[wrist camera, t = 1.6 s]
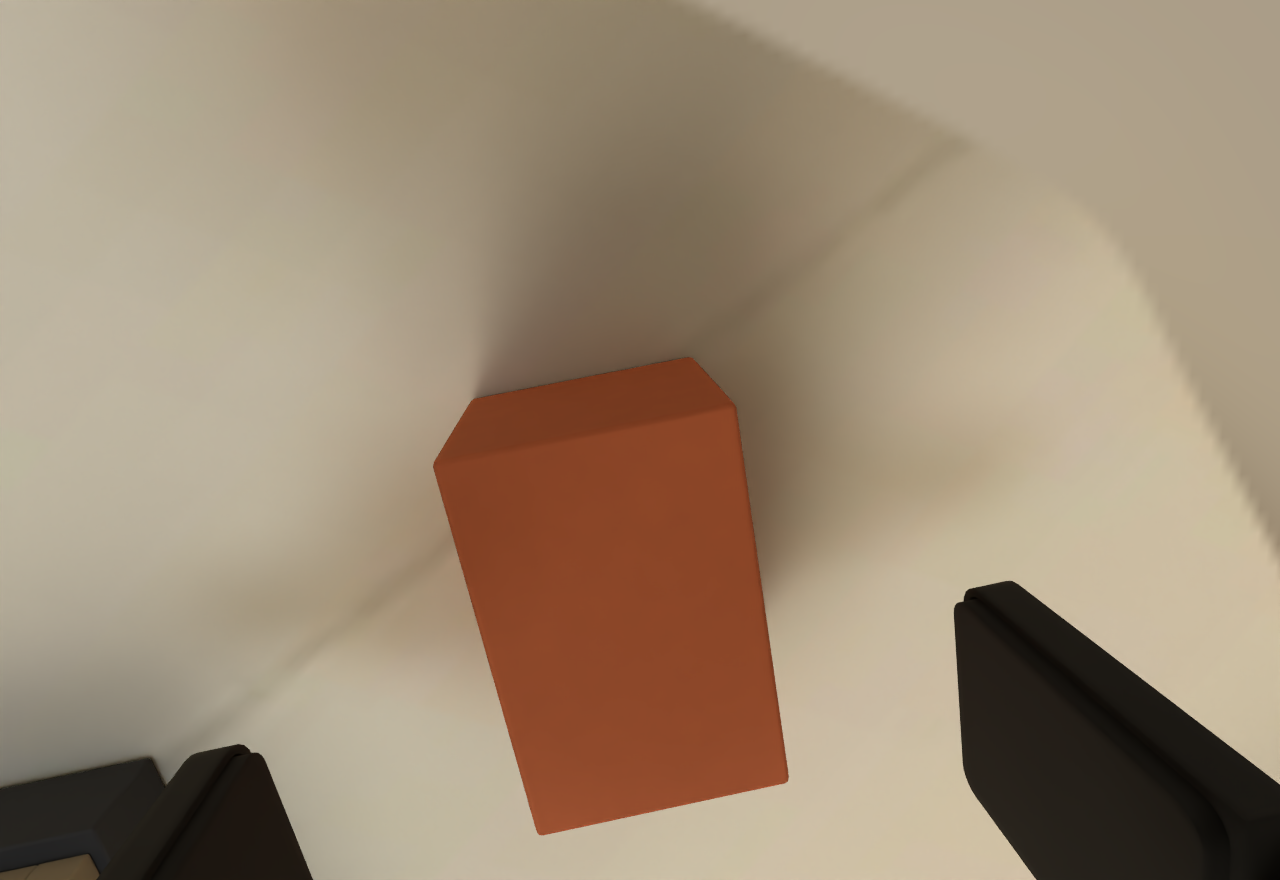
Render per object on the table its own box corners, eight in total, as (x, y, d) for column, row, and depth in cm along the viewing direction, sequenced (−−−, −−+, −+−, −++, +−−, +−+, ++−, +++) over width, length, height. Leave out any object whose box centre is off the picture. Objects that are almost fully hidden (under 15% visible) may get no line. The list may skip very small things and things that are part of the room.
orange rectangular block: (469, 398, 14) (429, 463, 10) (692, 355, 14) (737, 402, 10) (546, 693, 16) (536, 839, 12) (739, 652, 16) (790, 784, 12)
